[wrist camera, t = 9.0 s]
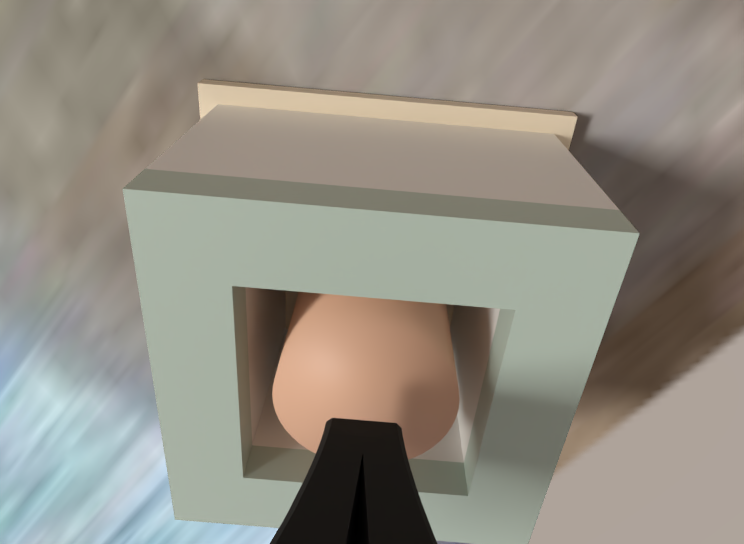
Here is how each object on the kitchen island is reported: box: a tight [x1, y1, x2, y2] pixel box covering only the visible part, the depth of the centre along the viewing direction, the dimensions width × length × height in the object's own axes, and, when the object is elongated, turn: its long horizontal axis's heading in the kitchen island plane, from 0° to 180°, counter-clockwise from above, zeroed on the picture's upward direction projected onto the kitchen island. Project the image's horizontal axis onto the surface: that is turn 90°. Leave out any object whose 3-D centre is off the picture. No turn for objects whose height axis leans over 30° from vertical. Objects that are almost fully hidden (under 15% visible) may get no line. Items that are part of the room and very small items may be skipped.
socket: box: [123, 79, 640, 544], centre depth 15 cm, size 10×10×6 cm
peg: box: [272, 292, 460, 460], centre depth 14 cm, size 4×4×6 cm
